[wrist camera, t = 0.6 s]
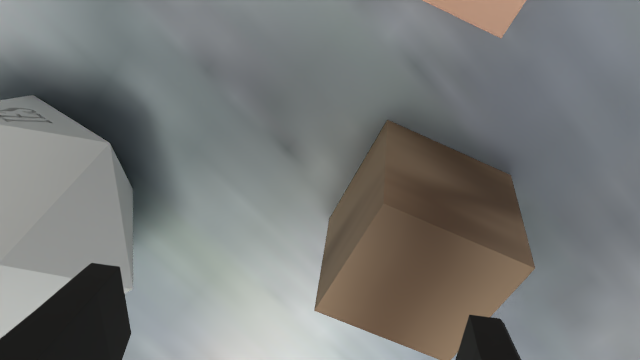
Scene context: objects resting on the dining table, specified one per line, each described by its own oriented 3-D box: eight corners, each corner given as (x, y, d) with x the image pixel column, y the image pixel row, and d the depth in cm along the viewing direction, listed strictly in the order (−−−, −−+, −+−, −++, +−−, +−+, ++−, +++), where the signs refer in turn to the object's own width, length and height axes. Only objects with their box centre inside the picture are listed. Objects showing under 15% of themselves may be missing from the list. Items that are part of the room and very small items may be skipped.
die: (151, 49, 21) (-195, 74, 14) (227, 280, 21) (-79, 419, 14) (57, 116, 27) (-224, 158, 20) (118, 299, 27) (-140, 406, 20)
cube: (510, 173, 22) (535, 268, 18) (440, 263, 25) (447, 362, 21) (387, 118, 21) (383, 203, 17) (329, 217, 24) (314, 310, 20)
